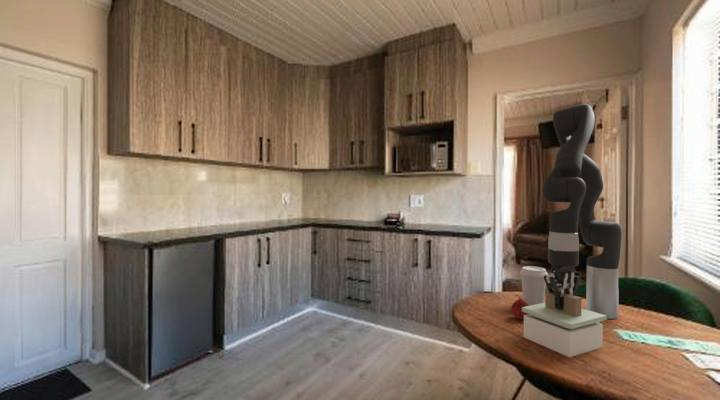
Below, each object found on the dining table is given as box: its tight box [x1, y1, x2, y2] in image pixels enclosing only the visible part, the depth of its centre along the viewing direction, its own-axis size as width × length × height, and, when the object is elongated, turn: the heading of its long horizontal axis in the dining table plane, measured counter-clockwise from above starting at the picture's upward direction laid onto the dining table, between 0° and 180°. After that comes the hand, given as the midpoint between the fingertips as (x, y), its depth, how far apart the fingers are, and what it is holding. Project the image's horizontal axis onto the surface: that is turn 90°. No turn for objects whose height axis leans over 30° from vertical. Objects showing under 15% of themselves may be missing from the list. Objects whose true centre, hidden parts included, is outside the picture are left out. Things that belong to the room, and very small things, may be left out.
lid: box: [522, 289, 608, 329], centre depth 99 cm, size 15×15×7 cm
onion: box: [511, 296, 529, 321], centre depth 118 cm, size 6×6×8 cm
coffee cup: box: [519, 265, 549, 306], centre depth 130 cm, size 10×10×15 cm
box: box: [523, 314, 604, 358], centre depth 99 cm, size 14×14×7 cm
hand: (562, 308), depth 99 cm, fingers closed on lid, 2 cm apart
